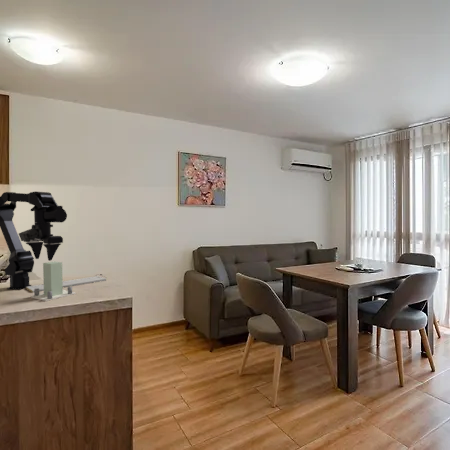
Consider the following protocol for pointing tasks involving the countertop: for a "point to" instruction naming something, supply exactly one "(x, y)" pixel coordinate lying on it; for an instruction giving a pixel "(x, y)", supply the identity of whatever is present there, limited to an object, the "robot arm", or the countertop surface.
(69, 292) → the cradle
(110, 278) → the countertop surface
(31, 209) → the robot arm
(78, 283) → the grey bar clamp
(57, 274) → the pale green rectangular block
